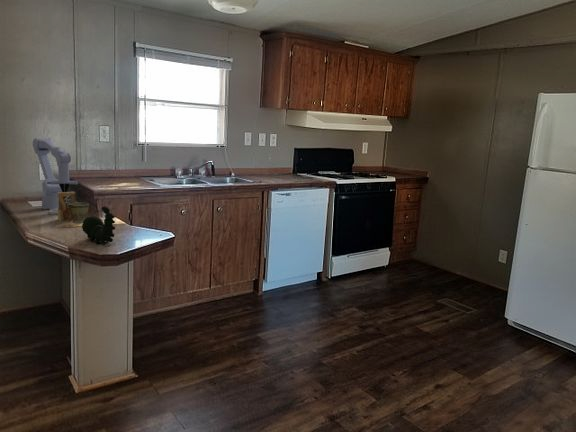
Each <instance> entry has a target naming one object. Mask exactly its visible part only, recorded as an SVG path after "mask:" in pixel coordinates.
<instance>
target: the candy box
mask: <svg viewBox="0 0 576 432" xmlns="http://www.w3.org/2000/svg"><path fill="white" fill-rule="evenodd" d="M70 203H77V195H76V192H75V191H67V192H65V191H64V192H59V193H57V205H58V214H57V219H58V221H60V222H61V221H71V220H72V215H71V211H70V208H69V204H70ZM72 221H73V220H72Z"/></svg>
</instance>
